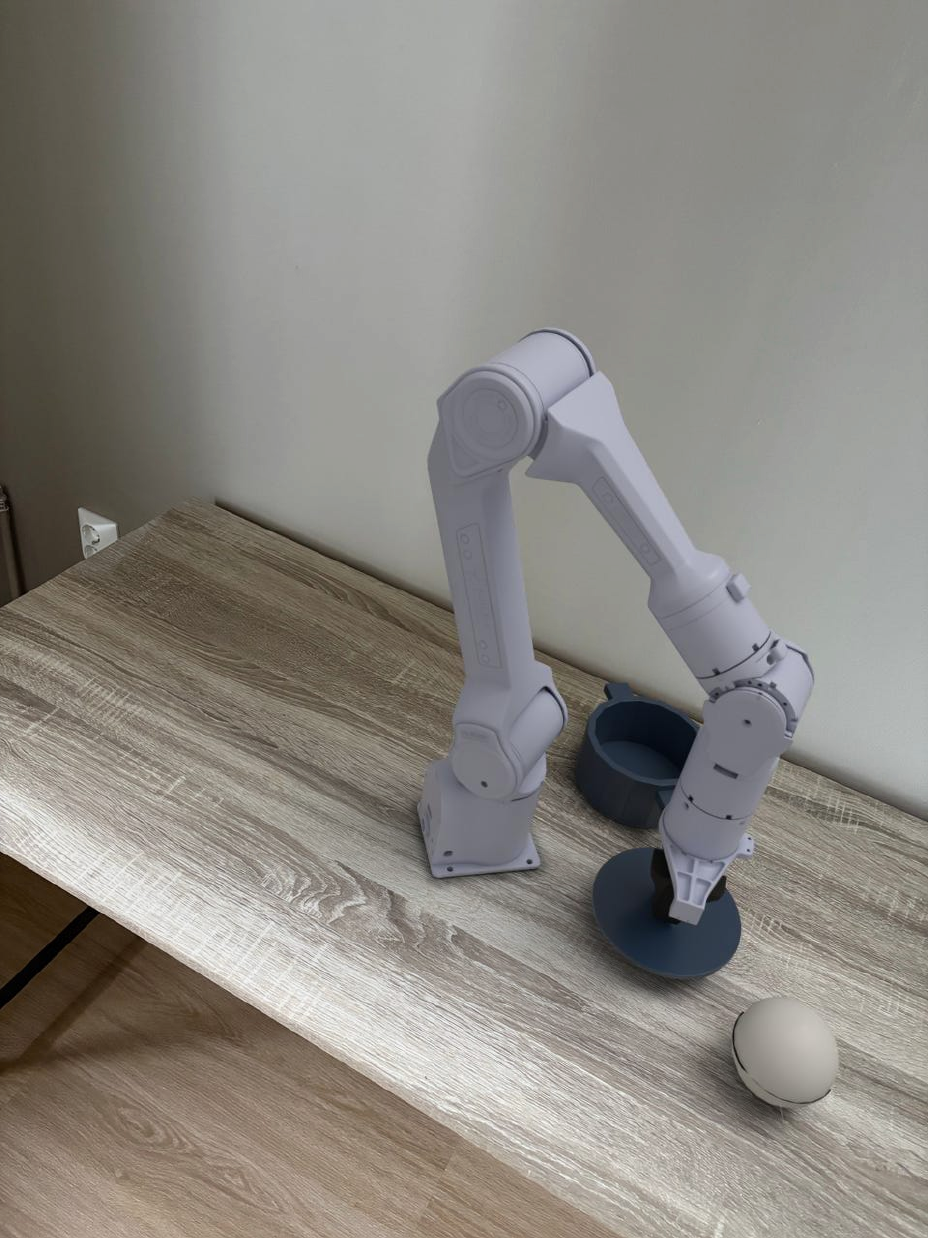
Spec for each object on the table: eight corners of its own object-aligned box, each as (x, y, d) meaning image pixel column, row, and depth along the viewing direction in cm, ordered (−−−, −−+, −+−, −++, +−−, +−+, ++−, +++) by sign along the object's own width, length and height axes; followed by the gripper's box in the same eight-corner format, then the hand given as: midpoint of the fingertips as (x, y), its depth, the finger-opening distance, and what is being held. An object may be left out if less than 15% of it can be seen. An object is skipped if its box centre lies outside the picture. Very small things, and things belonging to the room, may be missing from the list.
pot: (606, 857, 86) (622, 813, 83) (552, 723, 99) (564, 679, 95) (722, 846, 89) (743, 803, 86) (655, 717, 102) (670, 675, 98)
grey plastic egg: (729, 1012, 76) (760, 959, 71) (823, 1058, 74) (861, 1006, 70) (697, 1128, 68) (730, 1077, 64) (802, 1183, 67) (843, 1133, 62)
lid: (619, 993, 74) (634, 958, 71) (570, 861, 83) (582, 825, 80) (763, 974, 77) (783, 939, 74) (700, 849, 86) (716, 814, 83)
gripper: (769, 884, 64) (707, 997, 72) (778, 740, 75) (724, 852, 84) (663, 849, 65) (615, 965, 73) (689, 712, 76) (644, 826, 85)
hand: (668, 903), depth 79 cm, fingers closed on lid, 2 cm apart
